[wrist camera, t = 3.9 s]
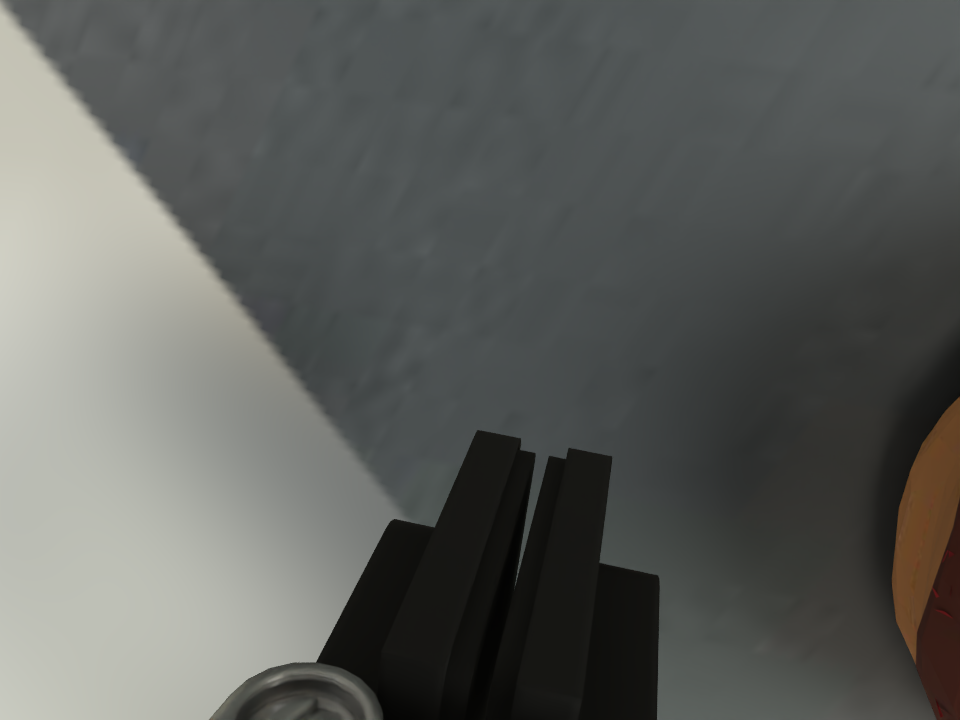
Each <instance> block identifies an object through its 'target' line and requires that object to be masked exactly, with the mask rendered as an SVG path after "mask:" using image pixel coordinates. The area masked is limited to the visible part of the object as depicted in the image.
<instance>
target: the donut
mask: <svg viewBox="0 0 960 720" xmlns="http://www.w3.org/2000/svg"><path fill="white" fill-rule="evenodd" d="M892 589H893V598H894V606H895V615H896V622H897V624H898V626H899V628H900V631H901V633H902V635H903V637H904V639H905V641H906V644H907V646H908V648H909V650H910V653H911V655H912V657H913V659H914V662H915V664H916V668H917V671H918V673H919V676H920V679H921V681H922V684H923V686H924V689H925V691H926V694H927V696H928V699H929V701H930V704H931V706H932V709H933V711H934V714H935V716H936V718H937V720H960V397H959V398H958V399H957V400H956V401H955V402H954V403H953V404H952V405H951V406H950V407H949V408H948V409H947V410H946V411H945V412H944V414H943V415H942V416H941V418H940V419H939V421H938V422H937V424H936V425H935V426H934V428H933V429H932V431H931V432H930V434H929V435H928V436H927V438H926V439H925V441H924V442H923V443H922V445H921V448H920V450H919V452H918V454H917V457H916V459H915V461H914V464H913V466H912V468H911V471H910V474H909V477H908V480H907V484H906V487H905V490H904V493H903V497H902V500H901V503H900V506H899V513H898V523H897V533H896V543H895V553H894V563H893V573H892Z"/></svg>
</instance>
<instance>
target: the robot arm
mask: <svg viewBox="0 0 960 720" xmlns="http://www.w3.org/2000/svg"><path fill="white" fill-rule="evenodd" d="M520 447H521V438H516V437H511V436H506V435H501V434H496V433H491V432H486V431H480V430H477V432H476V434H475V436H474V438H473V441H472V443H471V445H470V448H469V450H468V452H467V455H466V457H465V459H464V461H463V464H462V466H461V468H460V471H459V473H458V475H457V478H456V480H455V482H454V485H453V487H452V489H451V491H450V494H449V496H448V498H447V501H446V503H445V505H444V508H443V510H442V512H441V515H440V517H439V519H438V521H437V524H436V526H435V528H434V527H429V526H425V525H420V524H415V523H411V522H406V521H401V520H397V519H394V520H392V521H391V522H390V523H389V525H388V526H387V528H386V529H385V531H384V533H383V535H382V537H381V539H380V541H379V543H378V545H377V547H376V549H375V550H374V552H373V554H372V556H371V558H370V560H369V562H368V564H367V566H366V568H365V570H364V572H363V574H362V575H361V578H360V580H359V581H358V583H357V585H356V587H355V589H354V591H353V593H352V595H351V596H350V598H349V600H348V602H347V605H346V606H345V608H344V610H343V612H342V614H341V616H340V618H339V619H338V621H337V624H336V625H335V627H334V629H333V631H332V633H331V635H330V637H329V639H328V641H327V642H326V645H325V646H324V648H323V650H322V652H321V654H320V656H319V658H318V660H317V662H316V663H290V664H286V665H282V666H278V667H273V668H270V669H267V670H265V671H264V672H261V673H259V674H257V675H255V676H253V677H251V678H249V679H248V680H246V681H245V682H244V683H243V684H242V685H241V686H240V687H239V688H237V689H236V690H235V691H234V692H233V693H232V694H231V695H230V696H229V697H228V698H227V699H226V701H225V702H224V703H223V704H222V705H221V706H220V708H219V709H218V710H217V711H216V712H215V713H214V715H213V716H212V717H211V718H210V719H209V720H657V686H658V638H659V590H660V586H659V577H658V575H653V574H648V573H644V572H639V571H634V570H630V569H625V568H620V567H616V566H611V565H606V564H602V563H599V560H600V552H601V544H602V536H603V528H604V520H605V512H606V504H607V496H608V488H609V480H610V472H611V464H612V456H607V455H602V454H597V453H592V452H587V451H582V450H577V449H571V448H569V449H568V453H567V457H566V459H562V458H557V457H552V456H549V458H548V462H547V466H546V470H545V474H544V478H543V482H542V485H541V489H540V493H539V497H538V501H537V505H536V509H535V512H534V516H533V520H532V524H531V528H530V532H529V536H528V540H527V543H526V547H525V551H524V555H523V559H522V563H521V567H520V571H519V574H518V578H517V582H516V576H517V569H518V563H519V557H520V551H521V544H522V538H523V532H524V526H525V519H526V513H527V507H528V501H529V495H530V488H531V482H532V476H533V470H534V463H535V453H532V452H527V451H522V450H520ZM515 582H516V586H515ZM514 588H515V590H514Z"/></svg>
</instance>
